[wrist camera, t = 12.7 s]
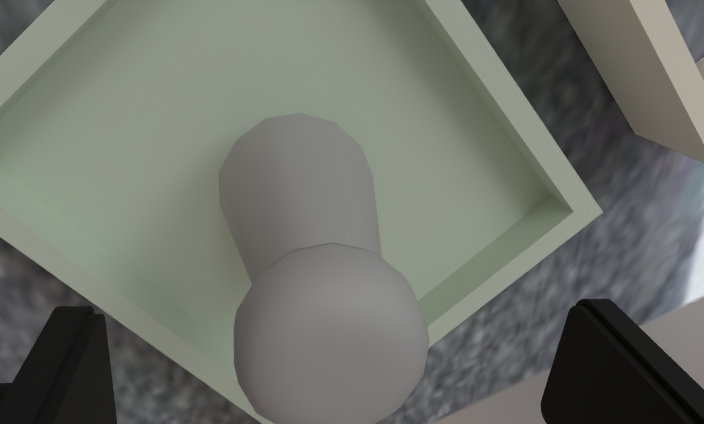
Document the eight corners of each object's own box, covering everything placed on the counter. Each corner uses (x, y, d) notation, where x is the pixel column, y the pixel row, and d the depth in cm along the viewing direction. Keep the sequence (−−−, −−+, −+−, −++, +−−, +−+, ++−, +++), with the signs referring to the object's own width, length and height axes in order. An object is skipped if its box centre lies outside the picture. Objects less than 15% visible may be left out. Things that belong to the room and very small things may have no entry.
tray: (288, -213, 18) (295, -246, 16) (566, 188, 26) (603, 212, 24) (-59, 137, 21) (-105, 162, 18) (293, 405, 29) (298, 449, 26)
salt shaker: (191, 175, 22) (125, 405, 10) (284, 69, 21) (328, 190, 9) (299, 255, 24) (345, 518, 13) (388, 163, 23) (528, 355, 12)
